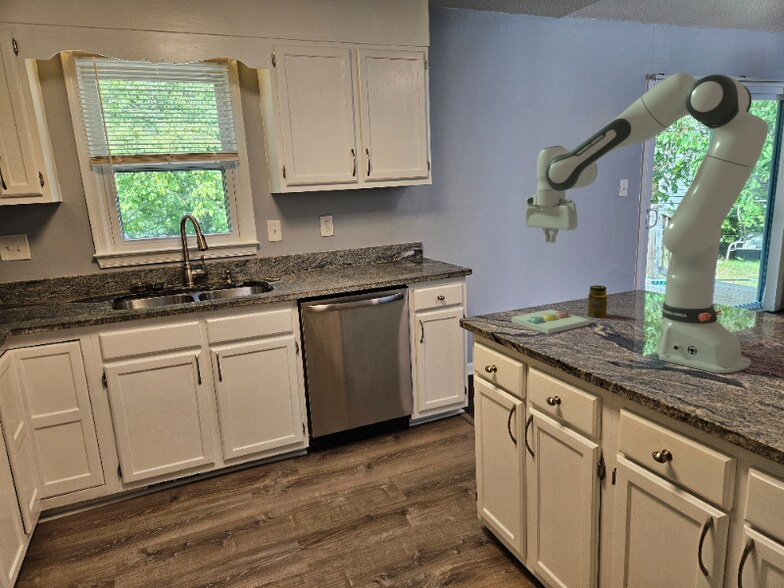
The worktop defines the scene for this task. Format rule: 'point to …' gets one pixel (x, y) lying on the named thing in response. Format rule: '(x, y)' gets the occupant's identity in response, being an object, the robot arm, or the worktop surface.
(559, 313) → the salmon brown ball
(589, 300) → the condiment
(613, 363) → the worktop surface
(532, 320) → the button teal
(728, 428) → the worktop surface
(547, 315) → the button mustard
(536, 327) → the panel
